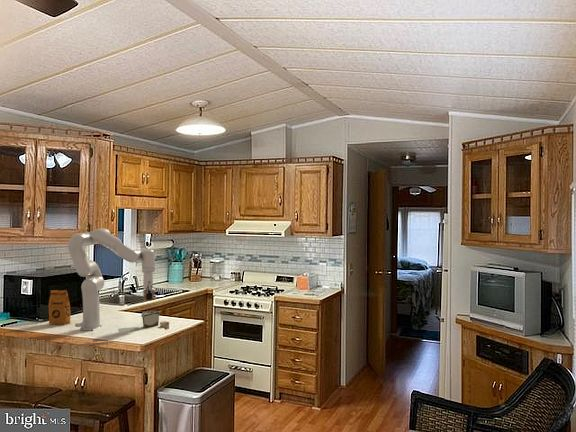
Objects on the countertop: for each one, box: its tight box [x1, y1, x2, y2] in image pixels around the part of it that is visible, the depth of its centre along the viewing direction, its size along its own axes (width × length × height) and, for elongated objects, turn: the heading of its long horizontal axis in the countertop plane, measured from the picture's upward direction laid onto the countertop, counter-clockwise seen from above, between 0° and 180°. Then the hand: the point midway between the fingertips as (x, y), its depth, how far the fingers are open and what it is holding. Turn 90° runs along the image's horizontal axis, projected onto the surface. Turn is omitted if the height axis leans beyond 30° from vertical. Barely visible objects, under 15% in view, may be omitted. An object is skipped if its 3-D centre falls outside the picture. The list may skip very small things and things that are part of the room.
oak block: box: [159, 320, 170, 330], centre depth 293 cm, size 4×4×4 cm
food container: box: [141, 310, 161, 329], centre depth 294 cm, size 12×6×10 cm, turn 141°
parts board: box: [117, 326, 141, 333], centre depth 286 cm, size 12×10×1 cm
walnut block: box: [142, 288, 155, 302], centre depth 294 cm, size 6×6×6 cm
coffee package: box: [48, 289, 71, 326], centre depth 308 cm, size 10×12×22 cm
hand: (148, 298), depth 294 cm, fingers closed on walnut block, 6 cm apart
